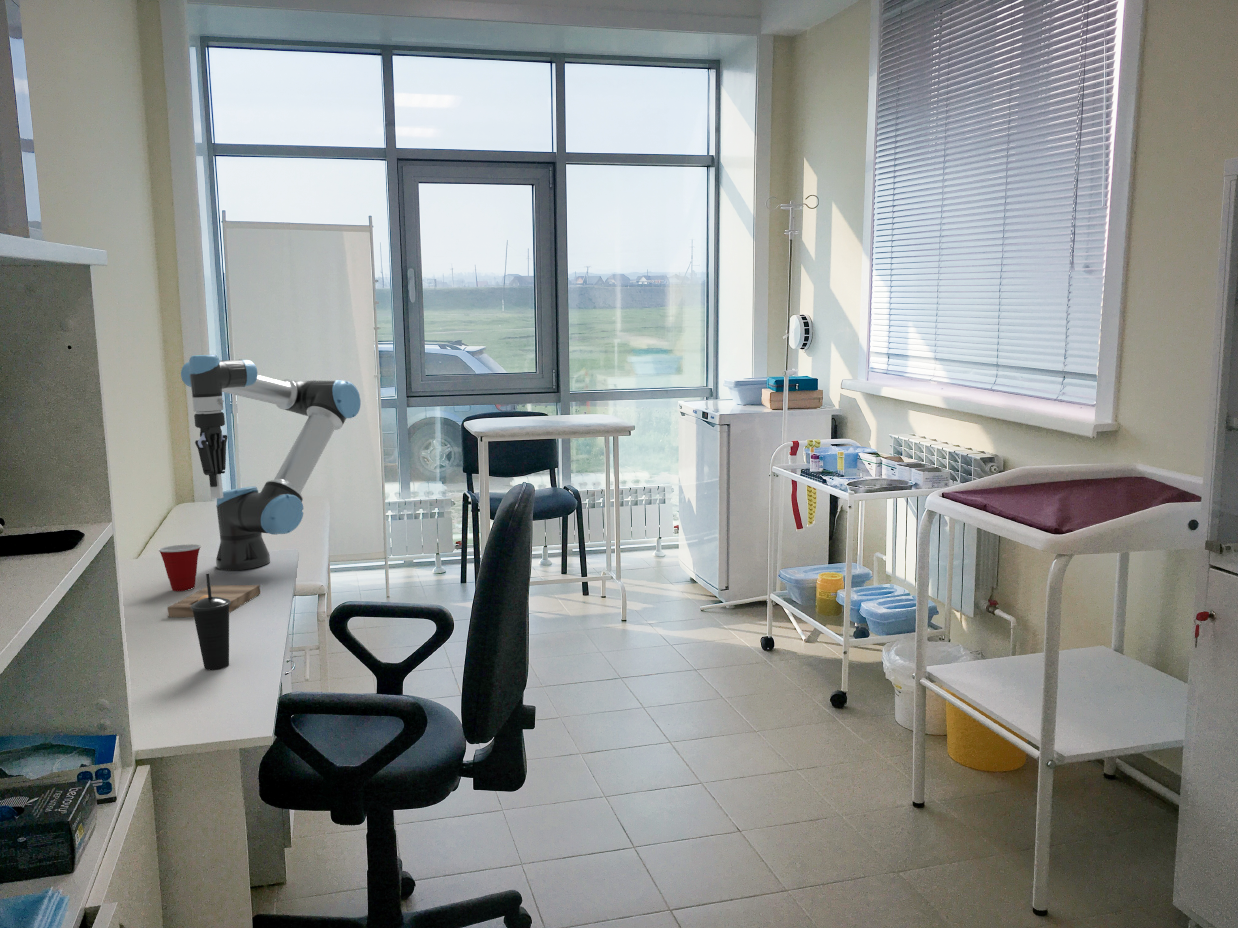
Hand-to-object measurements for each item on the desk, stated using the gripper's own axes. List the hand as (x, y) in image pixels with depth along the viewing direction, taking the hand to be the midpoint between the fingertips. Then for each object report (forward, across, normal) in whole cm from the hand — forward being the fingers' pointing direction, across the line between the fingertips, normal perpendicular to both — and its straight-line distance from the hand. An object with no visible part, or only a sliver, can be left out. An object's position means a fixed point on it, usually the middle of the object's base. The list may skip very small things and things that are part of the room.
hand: (217, 497), depth 269 cm
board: (+24, -20, -8) cm, 33 cm away
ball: (+22, -25, -8) cm, 34 cm away
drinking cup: (+25, -64, -32) cm, 76 cm away
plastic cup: (+25, -4, +10) cm, 27 cm away
